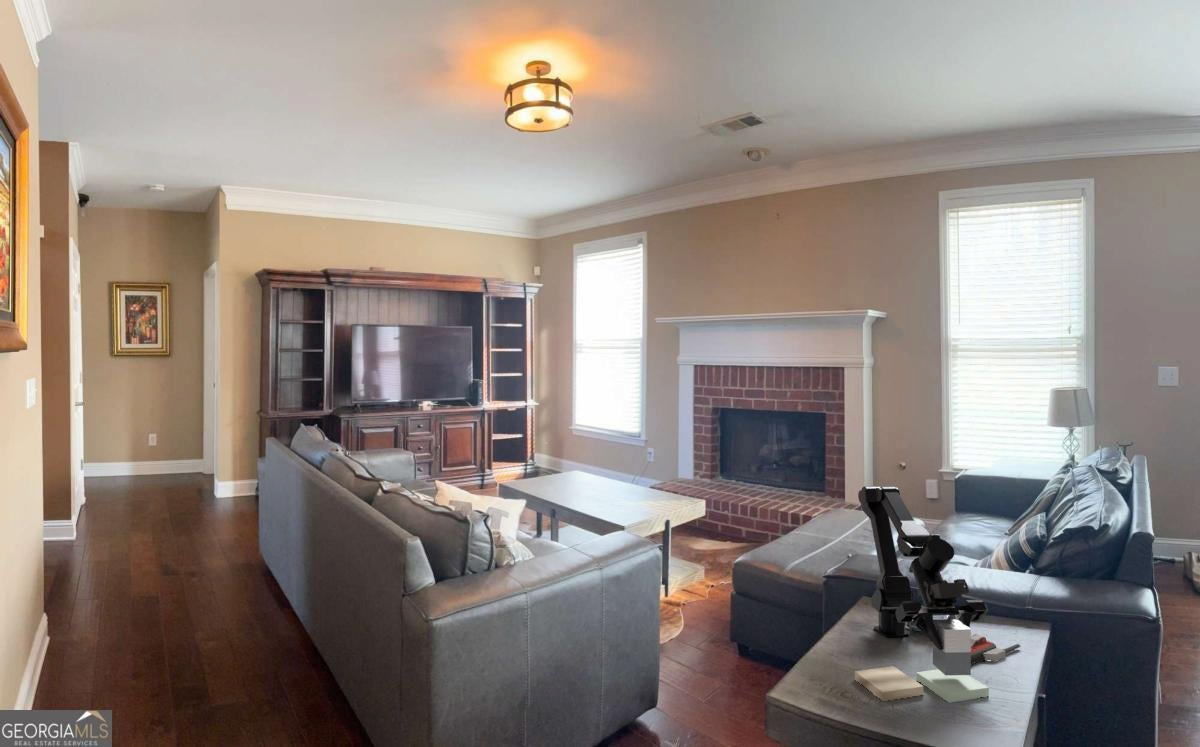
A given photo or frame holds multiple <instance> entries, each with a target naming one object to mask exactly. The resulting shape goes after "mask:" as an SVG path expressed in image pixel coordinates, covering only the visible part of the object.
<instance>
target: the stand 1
mask: <svg viewBox="0 0 1200 747" xmlns="http://www.w3.org/2000/svg"><path fill="white" fill-rule="evenodd" d="M855 680H856V682H857V681H858V682H859V683H860V684H859V683H858V682H857V683H858V684H859V685H861V684H862V685H863V686H864V687H865V689H866V688H867V689H868V690H869V691H868V690H867V689H866V690H867V691H868V692H870V691H871V692H872V693H873V694H872V693H871V692H870V693H871V694H872V695H874V696H875V697H876V696H877V697H878V698H877V697H876V698H877V699H879V698H880V699H881V700H882V701H881V700H880V699H879V700H880V701H881V702H889V701H888V700H890V701H896V700H895V699H897V700H902V699H901V698H904V699H908V698H907V697H910V698H913V697H912V696H917V697H919V696H918V695H923V696H924V686H923V685H922V684H920V683H919V682H917V681H916V680H915V679H913V678H912V677H910V676H909V675H907V674H906V673H904V672H903V671H901V670H899V669H898V668H896V667H895V666H894V665H891V666H885V667H877V668H871V669H870V668H869V669H862V670H855V671H854V681H855ZM862 685H861V686H862ZM863 686H862V687H863ZM864 687H863V688H864Z"/></svg>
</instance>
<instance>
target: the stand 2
mask: <svg viewBox="0 0 1200 747" xmlns="http://www.w3.org/2000/svg"><path fill="white" fill-rule="evenodd" d="M915 673H916V680H917V681H919V682H921V683H922V684H924V685H925V686H927V687H928V688H930V689H931V690H932V691H934V692H935V693H936V694H938V695H939V696H941V697H942V698H943V699H942V698H941V697H940V698H941V699H942V700H944V701H945V700H946V701H945V702H946V703H948V704H950V703H956V702H957V703H958V702H963V701H970V700H976V699H977V698H978V699H981V698H980V697H984V698H988V697H987V696H989V697H990V695H989V694H990V693H989V690H990V689H989V686H987V685H985V684H984V683H982V682H980V681H978V680H977V679H975V678H974V677H972V676H971V675H944V674H943V673H942V672H941V671H940V670H939V669H938V668H936V669H930V670H923V671H917V672H915ZM916 680H915V681H916ZM917 681H916V682H917ZM919 682H918V683H919ZM922 684H921V685H922ZM932 691H931V692H932ZM935 693H934V694H935ZM936 694H935V695H936ZM938 695H937V696H938ZM939 696H938V697H939Z"/></svg>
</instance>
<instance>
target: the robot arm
mask: <svg viewBox="0 0 1200 747" xmlns="http://www.w3.org/2000/svg"><path fill="white" fill-rule="evenodd" d="M857 495H858V496H857V497H858V501H859V503H860V505H861V509H862V511H863V513H864V514H865V515H866V516H867V517H868V518H869V521H870V524H871V529H872V535H873V541H874V545H875V550H876V555H877V556H876V557H877V562H878V566H879V567H878V568H879V572H880V573H879V576H878V577H877V581H876V582H875V583H876V584H875V586H876V590H875V591H874V593H873V594H872V596H871V598H870V600H871V606H872V608H873V609H875V611H877V612H878V625H875V626H873V630H875V631H876V632H878V633H879V634H880V635H881V634H882V635H883V636H884V637H887V638H898V637H904V635H907V636H910V633H909V632H908V631H906V630H905V629H906V628H905V627H906V626H905V624H907V623H910V624H911V625H912V627H916V628H917V629H918V630H919V631H921V633H923V635H925V636H926V637H927V638H928V639H929V641H931V643H932V645H933V644H934V645H935V646H936V647H937V648H938V649H939V650H942V649H943V647H942V643H941V640H940V638H939V635H938V633H937V630H936V628H935V625H934V622H933V620H934V616H954V617H955V618H954V619H958V620H959V621H960V622H962V623H963V624H964V625H966V626H967V627H969V628H970V629H971V622H975V623H976V622H979V621H980V620H982V619H983V617H984V616H985V615H986V614H988V612H989V609H988V606H987V604H986V603H985V602H984V601H983V600H981V599H966V600H964V601H963V603H962V604H961V605H954V604H956V603H957V601H958V600H957V599H963V595H968V594H969V592H970V591H969V589H970V588H969V585H968V583H967V581H966V579H964V578H959V579H958V578H957V579H954V580H953V582H948V581H947V580H946V579H944V578H943V577H942V574H941V572H943V571H944V570H945V569H946V568H947V566H948V565H949V563H950V562H951V560H952V559H953V558H954V557H955V549H954V547H953V546H952V545H951V544H950V542H948V541H946V540H945V539H942V538H941V536H940V534H930V533H929V531H928V530H927V529H926V528H925V527H923V526H922V525H920V524H918V522H916V520H915V519H914V517H913V515H912V514H911V512H910V511H909V509H908V507H907V506H906V504H905V502H904V500H903V498H902V497H901V494H900V489H899V488H898V487H895V486H886V485H875V486H874V485H871V486H867V485H865V486H862V487H861V490H859V491H858V493H857ZM890 520H891V521H890ZM891 523H892V525H893V526H894V528H895V530H896V532H897V538H896V543H897V548H898V551H899V552H900V553H901V555H902V556H903V557H905V558H912V557H913V558H914V559H913V560H911V562H910V566H909V568H908V572H909V573H912V574H913V577H914V580H915V583H916V585H917V588H918V590H917V591H916V594H917V596H919V597H921V599H922V602H923V605H921V602H920V601H919V600H914V594H913V590H912V588H911V583H910V578H909V577H908V575H904V574H903V573H902V572H901V571H900V567H899V561H898V557H897V552H896V546H895V541H894V537H893V531H892V527H891Z"/></svg>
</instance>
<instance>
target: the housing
mask: <svg viewBox="0 0 1200 747" xmlns="http://www.w3.org/2000/svg"><path fill="white" fill-rule="evenodd" d="M933 622H934V625H935V628H936V630H937V633H938V635H939V638H940V640H941V643H942V647H943V649H942V650H939V649H938V648H937V647H936V646H935V645H934V644H933V643H932V664H933V666H935V668H936V669H939V670H940V671H941V672H942V673H943V674H944V675H968V676H972V665H971V636H972V628H971V627H970V628H969V627H967V626H966V625H964V624H963V623H962V622H960V621H959V620H958V619H956V618H954V619H952V618H951V619H950V618H949V619H947V618H946V619H933Z"/></svg>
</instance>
